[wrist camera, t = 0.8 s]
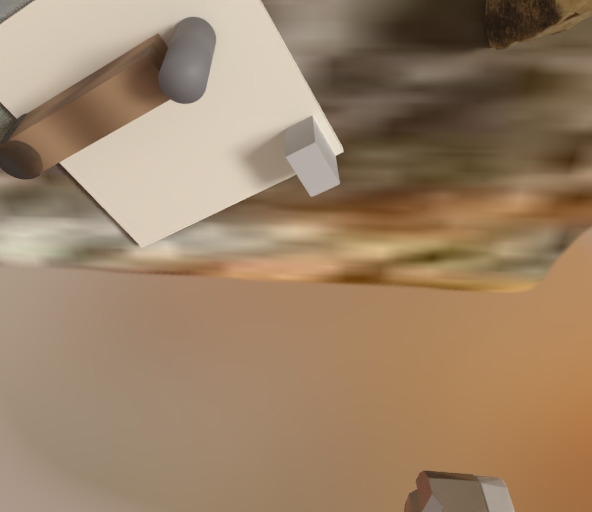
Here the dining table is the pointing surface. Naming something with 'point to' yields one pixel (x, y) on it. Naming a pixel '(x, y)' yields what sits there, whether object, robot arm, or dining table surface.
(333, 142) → the wall mounted roll holder
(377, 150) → the dining table surface
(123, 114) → the leg
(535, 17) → the rock
